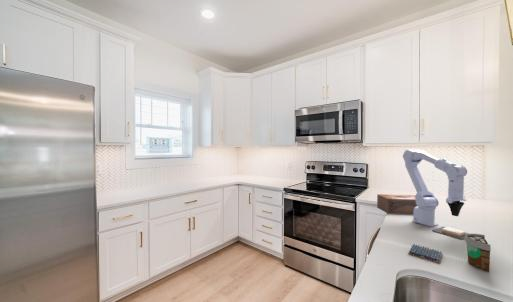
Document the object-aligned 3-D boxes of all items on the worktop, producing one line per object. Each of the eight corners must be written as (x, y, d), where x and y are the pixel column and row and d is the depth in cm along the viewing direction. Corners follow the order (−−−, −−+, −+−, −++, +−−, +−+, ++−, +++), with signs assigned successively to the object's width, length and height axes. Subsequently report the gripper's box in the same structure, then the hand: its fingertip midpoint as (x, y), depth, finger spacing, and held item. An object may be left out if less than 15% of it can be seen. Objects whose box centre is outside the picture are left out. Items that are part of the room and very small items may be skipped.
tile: (447, 230, 114) (441, 232, 112) (447, 226, 114) (442, 228, 112) (465, 235, 108) (459, 237, 105) (465, 231, 108) (459, 233, 105)
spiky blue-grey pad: (443, 255, 89) (443, 250, 89) (440, 265, 81) (440, 260, 81) (412, 247, 96) (412, 242, 96) (407, 255, 89) (407, 250, 89)
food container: (462, 255, 89) (462, 230, 88) (483, 260, 85) (484, 234, 85) (465, 267, 79) (466, 240, 79) (490, 274, 75) (490, 245, 75)
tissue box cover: (387, 213, 145) (387, 198, 145) (377, 207, 160) (377, 194, 160) (428, 214, 144) (428, 199, 143) (413, 208, 158) (413, 195, 158)
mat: (432, 231, 114) (432, 230, 114) (443, 227, 120) (443, 226, 120) (461, 239, 104) (461, 238, 104) (472, 235, 109) (472, 234, 109)
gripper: (459, 191, 104) (458, 220, 104) (472, 189, 110) (471, 216, 110) (441, 189, 110) (440, 215, 110) (455, 187, 117) (454, 212, 117)
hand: (455, 215), depth 111 cm, fingers closed
